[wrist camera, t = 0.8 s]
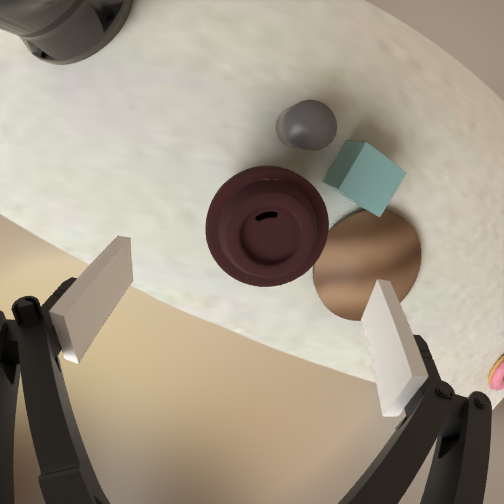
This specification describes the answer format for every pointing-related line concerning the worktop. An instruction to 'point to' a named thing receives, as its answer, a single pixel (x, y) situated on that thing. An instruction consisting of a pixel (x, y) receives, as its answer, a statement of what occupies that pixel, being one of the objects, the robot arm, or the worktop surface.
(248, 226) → the coffee cup
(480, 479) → the robot arm
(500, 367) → the doughnut
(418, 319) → the worktop surface
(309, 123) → the gray cylinder
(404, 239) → the walnut board
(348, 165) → the teal block
